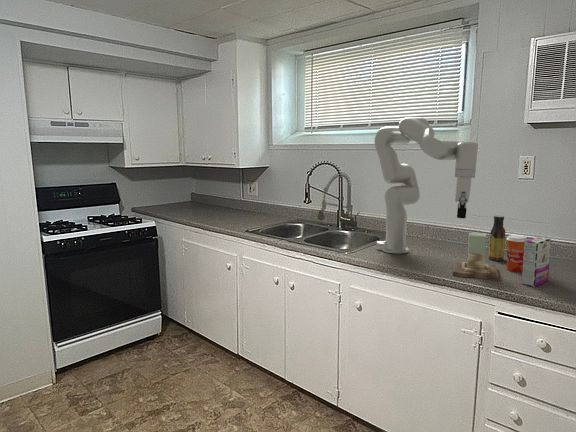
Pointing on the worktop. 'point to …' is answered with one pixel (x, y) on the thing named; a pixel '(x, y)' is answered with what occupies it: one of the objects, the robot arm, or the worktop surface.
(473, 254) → the maple block
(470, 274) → the base plate
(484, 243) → the sage block
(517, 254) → the paper cup
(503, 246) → the sauce bottle
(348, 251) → the worktop surface
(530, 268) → the candy bar box
